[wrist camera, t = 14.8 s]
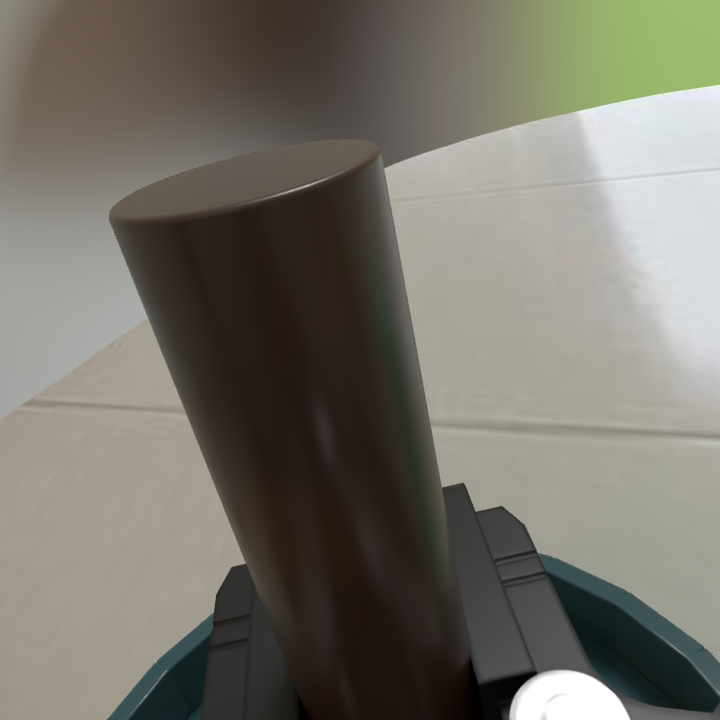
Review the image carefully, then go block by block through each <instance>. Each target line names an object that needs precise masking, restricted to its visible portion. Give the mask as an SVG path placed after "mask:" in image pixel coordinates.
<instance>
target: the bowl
mask: <svg viewBox="0 0 720 720" xmlns="http://www.w3.org/2000/svg"><path fill="white" fill-rule="evenodd" d="M537 554H538V555H539V556H540V559H541V561H542V563H543V565H544V567H545V569H546V571H547V575H548V577H550V580H551V582H552V584H553V586H554V588H555V590H556V592H557V594H558V596H559V598H560V601H561V603H562V605H563V607H564V609H565V611H566V613H567V615H568V617H569V619H570V622H571V624H572V626H573V628H574V630H575V632H576V634H577V636H578V638H579V640H580V643H581V645H582V647H583V649H584V651H585V653H586V655H587V657H588V659H589V661H590V663H591V664H592V666H593V668H594V669H595V670H596V671H597V673H598V674H599V675H600V676H601V677H602V678H603V679H604V680H605V681H606V682H607V683H608V684H609V685H610V686H612V687H613V688H614V689H616V690H617V691H619V692H620V693H622V694H624V695H625V696H627V697H629V698H632V699H634V700H636V701H638V702H641V703H645V704H648V705H651V706H657V707H663V708H671V709H680V710H690V711H699V712H708V713H713V712H714V710H715V708H716V707H717V706H718V704H719V703H720V663H719V662H718V661H717V660H716V659H715V657H714V656H713V655H712V654H711V653H710V652H709V651H708V650H707V649H705V648H704V647H703V646H702V645H701V644H700V643H698V642H697V641H696V640H694V639H693V638H692V637H690V636H689V635H687V634H686V633H685V632H683V631H682V630H681V629H679V628H678V627H677V626H675V625H674V624H672V623H671V622H670V621H668V620H667V619H666V618H664V617H663V616H661V615H660V614H659V613H657V612H656V611H655V610H653V609H652V608H651V607H649V606H648V605H646V604H645V603H644V602H642V601H641V600H640V599H638V598H637V597H635V596H634V595H633V594H631V593H630V592H627V591H626V590H624V589H622V588H620V587H618V586H615V585H613V584H611V583H609V582H607V581H605V580H603V579H600V578H598V577H596V576H594V575H592V574H590V573H587V572H585V571H583V570H581V569H579V568H577V567H574V566H572V565H570V564H568V563H566V562H564V561H561V560H559V559H557V558H553V557H551V556H548V555H543V554H539V553H537ZM213 616H214V613H213V614H211V615H210V616H209V617H208V618H207V619H206V620H204V621H203V622H202V623H201V624H200V625H198V626H197V627H196V628H195V629H194V630H193V631H191V632H190V633H189V634H188V635H187V636H185V637H184V638H183V639H182V640H181V641H180V642H178V643H177V644H176V645H175V646H174V647H173V648H171V649H170V650H169V651H168V652H167V653H165V654H164V655H163V656H162V657H161V658H160V659H158V661H157V663H154V664H153V666H152V667H151V668H150V669H149V670H148V672H147V673H146V674H145V675H144V676H143V678H142V679H141V680H140V681H139V682H138V684H137V685H136V686H135V687H134V688H133V689H132V691H131V692H130V693H129V694H128V695H127V697H126V698H125V699H124V700H123V701H122V703H121V704H120V705H119V706H118V707H117V708H116V710H115V711H114V712H113V713H112V714H111V716H110V717H109V718H108V719H107V720H200V713H201V706H202V698H203V691H204V683H205V676H206V668H207V661H208V653H210V647H209V646H210V639H211V631H212V628H213Z"/></svg>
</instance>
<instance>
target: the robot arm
mask: <svg viewBox="0 0 720 720" xmlns="http://www.w3.org/2000/svg"><path fill="white" fill-rule="evenodd" d="M442 491H443V497H444V503H445V508H446V514H447V519H448V525H449V530H450V536H451V541H452V547H453V552H454V558H455V563H456V569H457V574H458V580H459V585H460V591H461V596H462V602H463V607H464V613H465V619H466V624H467V630H468V635H469V642H470V658H471V663H472V668H473V674H474V679H475V684H476V690H477V695H478V701H479V706H480V711H481V717H482V720H720V703H719V704H718V706H717V707H716V708H715V710H714V712H713V713H708V712H699V711H690V710H680V709H671V708H663V707H657V706H651V705H648V704H645V703H641V702H638V701H636V700H634V699H632V698H629V697H627V696H625V695H624V694H622V693H620V692H619V691H617V690H616V689H614V688H613V687H612V686H610V685H609V684H608V683H607V682H606V681H605V680H604V679H603V678H602V677H601V676H600V675H599V674H598V673H597V671H596V670H595V669H594V668H593V666H592V664H591V663H590V661H589V659H588V657H587V655H586V653H585V651H584V649H583V647H582V645H581V643H580V640H579V638H578V636H577V634H576V632H575V630H574V628H573V626H572V624H571V622H570V619H569V617H568V615H567V613H566V611H565V609H564V607H563V605H562V603H561V601H560V598H559V596H558V594H557V592H556V590H555V588H554V586H553V584H552V582H551V580H550V577H548V575H547V571H546V569H545V567H544V565H543V563H542V561H541V559H540V556H539V555H538V554H537V550H536V548H535V546H534V544H533V542H532V540H531V538H530V535H529V533H528V531H527V529H526V527H525V525H524V524H523V523H522V522H520V521H519V520H518V519H517V518H516V517H514V516H513V515H512V514H511V513H510V512H509V511H507V510H506V509H505V508H504V507H503V506H500V507H496V508H491V509H487V510H482V511H478V512H475V509H474V507H473V504H472V502H471V499H470V496H469V494H468V491H467V489H466V486H465V484H464V483H460V484H456V485H451V486H447V487H442ZM209 647H210V653H208V661H207V668H206V676H205V683H204V691H203V698H202V706H201V713H200V720H308V718H307V715H306V713H305V710H304V708H303V705H302V703H301V700H300V698H299V695H298V693H297V690H296V688H295V685H294V683H293V680H292V678H291V675H290V673H289V670H288V668H287V665H286V663H285V660H284V658H283V655H282V653H281V650H280V648H279V645H278V643H277V640H276V638H275V635H274V633H273V630H272V627H271V625H270V622H269V620H268V617H267V615H266V612H265V610H264V607H263V605H262V602H261V600H260V597H259V595H258V592H257V590H256V587H255V585H254V582H253V580H252V577H251V575H250V572H249V570H248V567H247V565H246V564H243V565H239V566H234V567H232V568H231V569H230V571H229V573H228V575H227V576H226V578H225V580H224V582H223V584H222V585H221V587H220V589H219V591H218V592H217V594H216V601H215V609H214V616H213V628H212V631H211V639H210V646H209Z"/></svg>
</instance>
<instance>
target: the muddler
mask: <svg viewBox="0 0 720 720" xmlns="http://www.w3.org/2000/svg"><path fill="white" fill-rule="evenodd" d="M109 220H110V223H111V226H112V228H113V231H114V233H115V236H116V238H117V241H118V243H119V246H120V248H121V250H122V253H123V256H124V258H125V261H126V263H127V266H128V268H129V271H130V273H131V276H132V278H133V281H134V283H135V286H136V289H137V291H138V294H139V296H140V299H141V301H142V304H143V306H144V309H145V311H146V314H147V316H148V319H149V321H150V324H151V326H152V329H153V331H154V334H155V336H156V339H157V341H158V344H159V346H160V349H161V351H162V354H163V356H164V359H165V361H166V364H167V366H168V369H169V371H170V374H171V376H172V379H173V381H174V384H175V386H176V389H177V391H178V394H179V396H180V399H181V402H182V404H183V407H184V409H185V412H186V414H187V417H188V419H189V422H190V424H191V427H192V429H193V432H194V434H195V437H196V439H197V442H198V444H199V447H200V449H201V452H202V454H203V457H204V459H205V462H206V464H207V467H208V469H209V472H210V474H211V477H212V479H213V482H214V484H215V487H216V489H217V492H218V494H219V497H220V499H221V502H222V504H223V507H224V509H225V512H226V514H227V517H228V520H229V522H230V525H231V527H232V530H233V532H234V535H235V537H236V540H237V542H238V545H239V547H240V550H241V552H242V555H243V557H244V560H245V562H246V565H247V567H248V570H249V572H250V575H251V577H252V580H253V582H254V585H255V587H256V590H257V592H258V595H259V597H260V600H261V602H262V605H263V607H264V610H265V612H266V615H267V617H268V620H269V622H270V625H271V627H272V630H273V633H274V635H275V638H276V640H277V643H278V645H279V648H280V650H281V653H282V655H283V658H284V660H285V663H286V665H287V668H288V670H289V673H290V675H291V678H292V680H293V683H294V685H295V688H296V690H297V693H298V695H299V698H300V700H301V703H302V705H303V708H304V710H305V713H306V715H307V718H308V720H482V717H481V711H480V706H479V701H478V695H477V690H476V684H475V679H474V674H473V668H472V663H471V658H470V642H469V635H468V630H467V624H466V619H465V613H464V607H463V602H462V596H461V591H460V585H459V580H458V574H457V569H456V563H455V558H454V552H453V547H452V541H451V536H450V530H449V525H448V519H447V514H446V508H445V503H444V497H443V491H442V486H441V480H440V475H439V469H438V464H437V458H436V453H435V447H434V442H433V436H432V431H431V425H430V420H429V414H428V409H427V403H426V398H425V392H424V387H423V381H422V375H421V370H420V364H419V359H418V353H417V348H416V342H415V337H414V331H413V326H412V320H411V315H410V309H409V304H408V298H407V293H406V287H405V282H404V276H403V271H402V265H401V259H400V254H399V248H398V243H397V237H396V232H395V226H394V221H393V215H392V210H391V204H390V199H389V193H388V188H387V182H386V177H385V171H384V166H383V160H382V155H381V151H380V150H379V148H378V147H377V145H376V144H374V143H372V142H369V141H363V140H355V139H336V140H324V141H315V142H308V143H301V144H295V145H288V146H283V147H278V148H273V149H268V150H263V151H258V152H254V153H250V154H245V155H241V156H237V157H233V158H229V159H226V160H222V161H218V162H215V163H212V164H208V165H204V166H201V167H198V168H195V169H191V170H188V171H185V172H182V173H179V174H177V175H174V176H171V177H169V178H165V179H163V180H161V181H158V182H155V183H153V184H151V185H149V186H146V187H144V188H142V189H140V190H138V191H135V192H134V193H132V194H130V195H128V196H127V197H125V198H123V199H122V200H121V201H119V202H118V203H117V204H116V205H114V206H113V207H112V209H111V210H110V214H109Z"/></svg>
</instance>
